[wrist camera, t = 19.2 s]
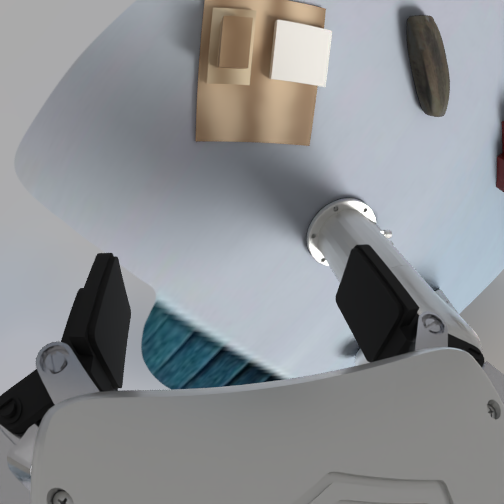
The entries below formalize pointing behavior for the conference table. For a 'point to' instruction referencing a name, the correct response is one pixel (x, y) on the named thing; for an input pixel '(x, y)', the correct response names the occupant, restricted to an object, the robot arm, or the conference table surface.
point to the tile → (300, 53)
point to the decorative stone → (428, 64)
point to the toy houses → (501, 165)
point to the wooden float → (231, 46)
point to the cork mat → (257, 83)
